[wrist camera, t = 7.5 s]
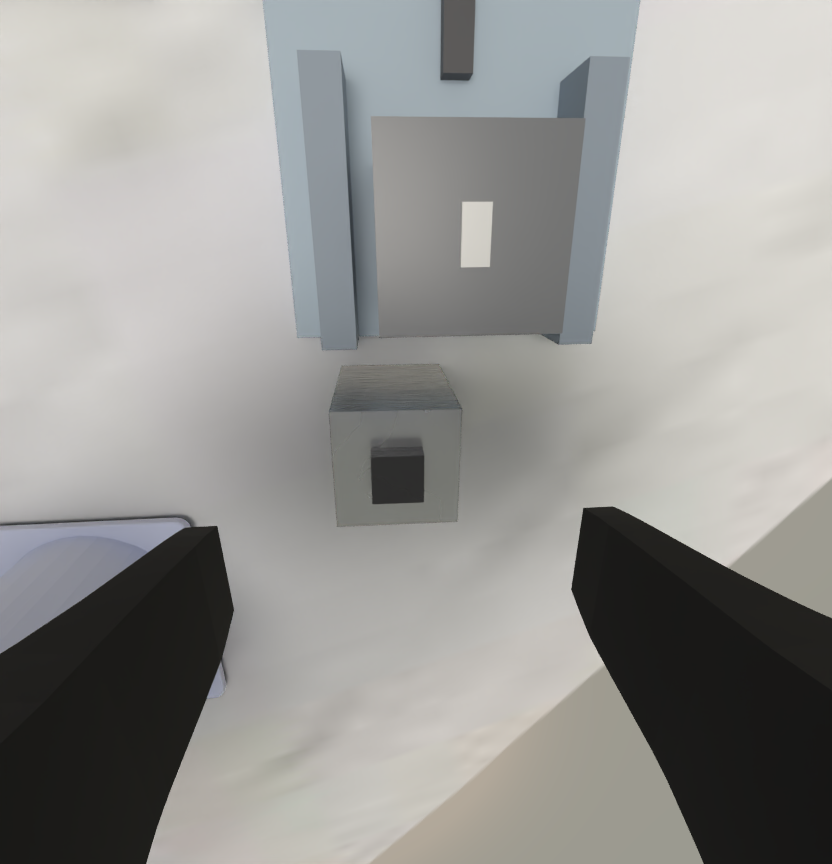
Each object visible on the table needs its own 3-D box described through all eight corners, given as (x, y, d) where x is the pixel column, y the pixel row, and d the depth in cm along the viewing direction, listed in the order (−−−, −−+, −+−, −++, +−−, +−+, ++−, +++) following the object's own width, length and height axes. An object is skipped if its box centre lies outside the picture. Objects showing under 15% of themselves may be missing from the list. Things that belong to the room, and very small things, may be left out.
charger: (500, 303, 15) (563, 334, 10) (378, 305, 15) (379, 338, 10) (508, 163, 14) (587, 117, 9) (372, 163, 14) (370, 115, 8)
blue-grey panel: (582, 326, 17) (623, 343, 14) (227, 333, 16) (196, 353, 13) (655, -246, 12) (743, -400, 9) (129, -283, 11) (43, -468, 8)
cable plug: (436, 451, 18) (460, 533, 13) (347, 454, 18) (335, 539, 13) (438, 364, 17) (466, 416, 12) (341, 365, 17) (326, 420, 12)
